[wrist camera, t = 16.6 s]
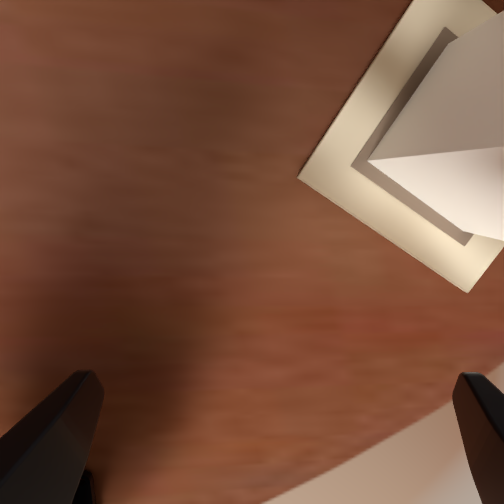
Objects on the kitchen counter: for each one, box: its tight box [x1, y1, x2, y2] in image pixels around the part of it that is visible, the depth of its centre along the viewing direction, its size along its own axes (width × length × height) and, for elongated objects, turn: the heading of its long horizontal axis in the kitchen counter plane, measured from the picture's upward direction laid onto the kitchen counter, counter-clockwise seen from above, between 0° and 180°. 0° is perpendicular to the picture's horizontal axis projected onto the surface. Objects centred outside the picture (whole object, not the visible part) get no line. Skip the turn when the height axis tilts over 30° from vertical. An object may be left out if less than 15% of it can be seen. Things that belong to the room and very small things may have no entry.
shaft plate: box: [297, 0, 504, 293], centre depth 18 cm, size 12×12×4 cm
